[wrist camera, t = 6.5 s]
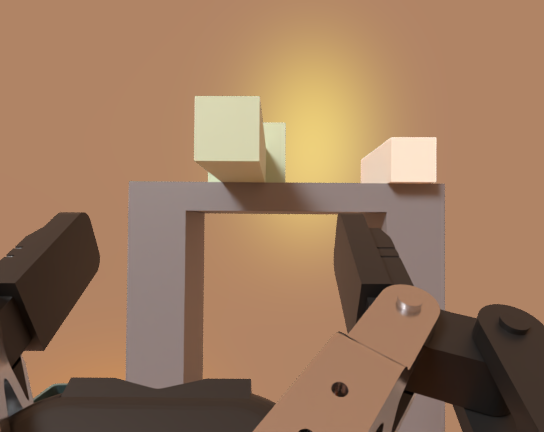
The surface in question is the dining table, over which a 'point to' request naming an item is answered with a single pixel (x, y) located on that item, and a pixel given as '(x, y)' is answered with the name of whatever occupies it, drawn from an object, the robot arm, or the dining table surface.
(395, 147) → the cream bar
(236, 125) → the pale yellow block
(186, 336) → the grey arch
